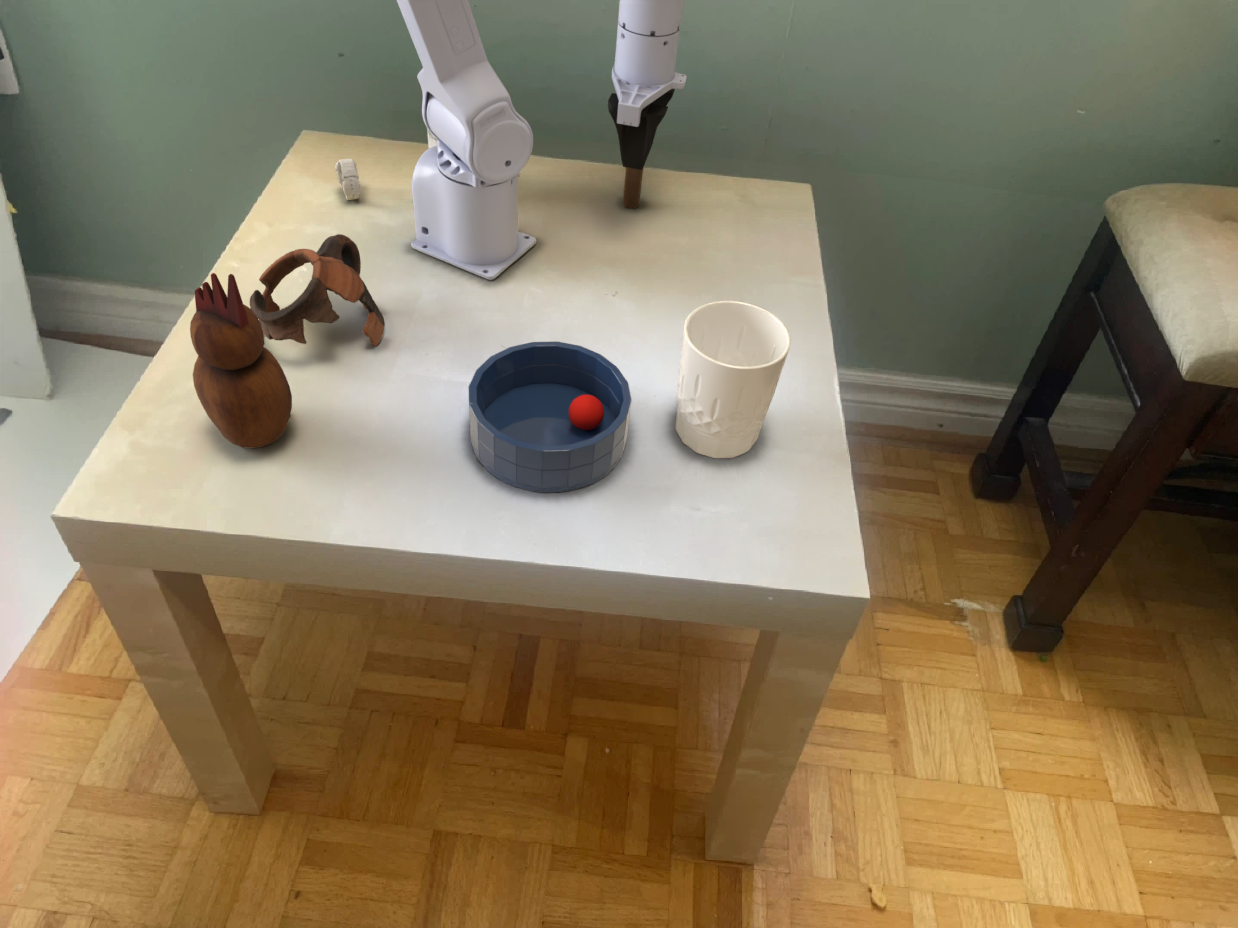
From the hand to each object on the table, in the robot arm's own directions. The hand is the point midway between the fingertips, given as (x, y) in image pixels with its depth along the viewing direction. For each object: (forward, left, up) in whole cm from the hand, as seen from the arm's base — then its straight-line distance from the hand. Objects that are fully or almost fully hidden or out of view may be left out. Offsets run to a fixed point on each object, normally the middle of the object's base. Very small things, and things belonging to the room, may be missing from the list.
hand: (635, 161), depth 93 cm
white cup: (+22, -26, -5) cm, 34 cm away
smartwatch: (-24, -16, -5) cm, 29 cm away
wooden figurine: (-8, -46, -5) cm, 47 cm away
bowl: (+11, -34, -5) cm, 36 cm away
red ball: (+13, -32, -3) cm, 35 cm away
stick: (0, 0, -5) cm, 5 cm away
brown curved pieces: (-12, -33, -5) cm, 35 cm away
